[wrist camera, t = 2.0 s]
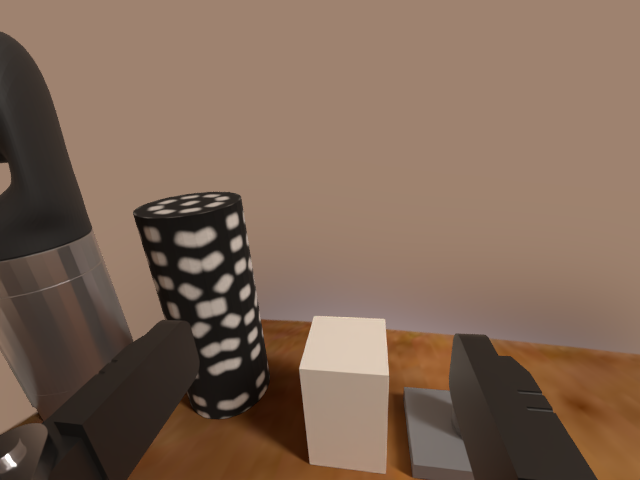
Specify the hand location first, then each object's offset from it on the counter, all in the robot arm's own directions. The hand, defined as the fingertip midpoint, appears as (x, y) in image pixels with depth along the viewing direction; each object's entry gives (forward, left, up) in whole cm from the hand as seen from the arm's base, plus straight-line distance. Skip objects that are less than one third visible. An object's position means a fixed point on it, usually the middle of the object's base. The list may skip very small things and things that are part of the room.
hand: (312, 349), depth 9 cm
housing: (0, +11, -19) cm, 22 cm away
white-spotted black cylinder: (-13, +15, -19) cm, 28 cm away
